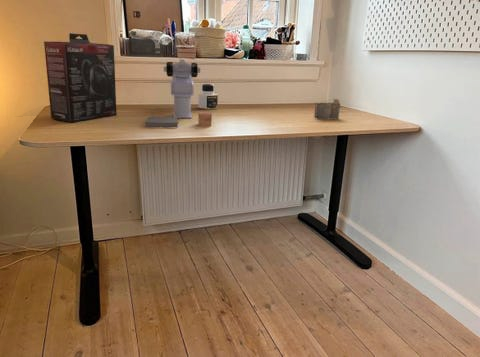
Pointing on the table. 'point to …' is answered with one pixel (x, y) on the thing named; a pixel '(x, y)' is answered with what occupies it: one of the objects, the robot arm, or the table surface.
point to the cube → (204, 118)
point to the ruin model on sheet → (327, 109)
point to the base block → (161, 122)
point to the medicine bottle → (208, 97)
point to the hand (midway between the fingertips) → (182, 69)
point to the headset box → (80, 79)
